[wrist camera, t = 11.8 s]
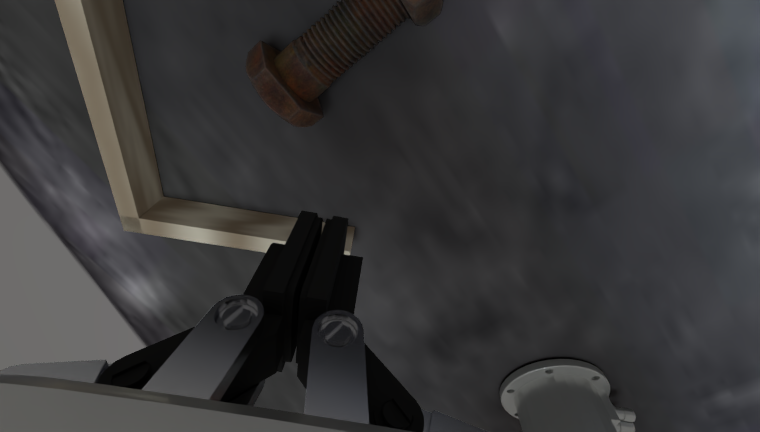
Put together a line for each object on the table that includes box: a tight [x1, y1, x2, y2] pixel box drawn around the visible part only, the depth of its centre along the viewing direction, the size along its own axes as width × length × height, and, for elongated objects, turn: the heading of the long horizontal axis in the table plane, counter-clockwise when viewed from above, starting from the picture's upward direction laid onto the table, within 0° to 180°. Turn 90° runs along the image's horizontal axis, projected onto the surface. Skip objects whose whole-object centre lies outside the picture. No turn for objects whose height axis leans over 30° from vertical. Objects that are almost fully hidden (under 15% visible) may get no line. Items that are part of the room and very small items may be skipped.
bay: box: [55, 0, 355, 255], centre depth 24 cm, size 18×24×4 cm
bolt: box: [246, 0, 443, 127], centre depth 21 cm, size 6×5×15 cm
